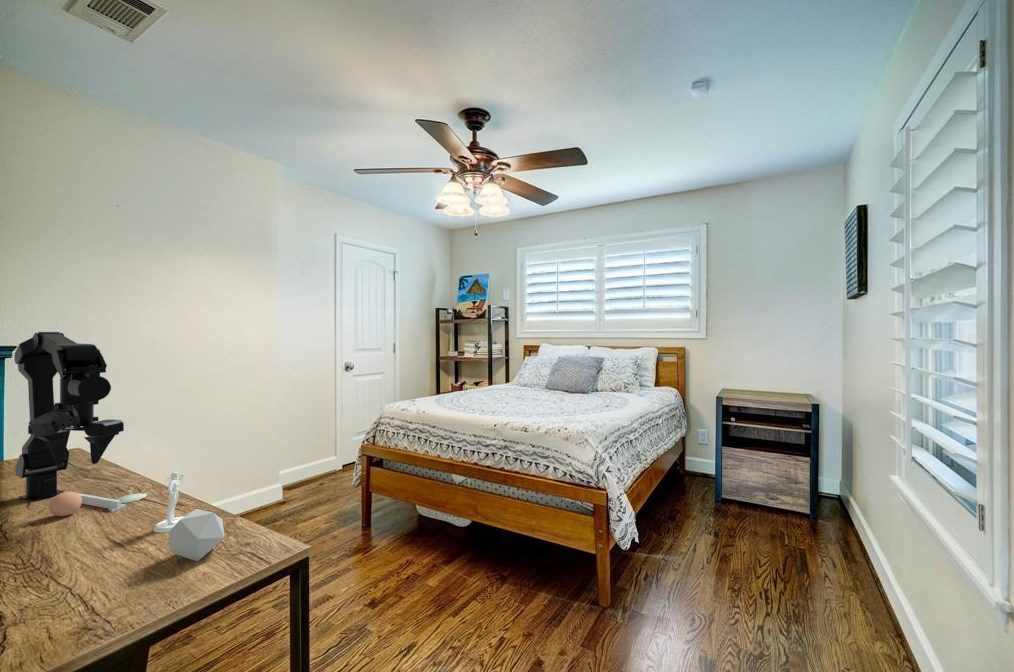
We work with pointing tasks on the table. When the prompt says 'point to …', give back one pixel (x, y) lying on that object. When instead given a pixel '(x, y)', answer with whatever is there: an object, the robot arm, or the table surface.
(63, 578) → the table surface
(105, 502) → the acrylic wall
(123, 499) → the felt coaster
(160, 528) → the figurine
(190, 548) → the die
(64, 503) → the ball
